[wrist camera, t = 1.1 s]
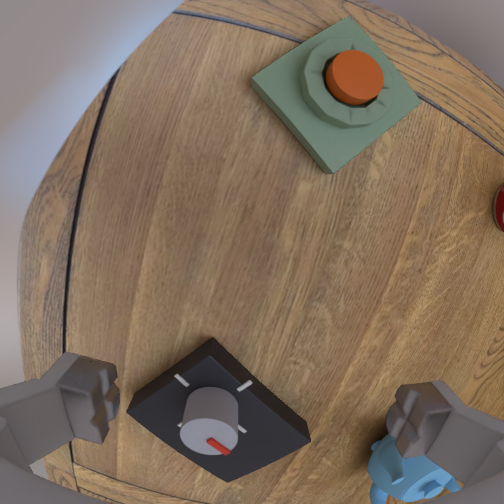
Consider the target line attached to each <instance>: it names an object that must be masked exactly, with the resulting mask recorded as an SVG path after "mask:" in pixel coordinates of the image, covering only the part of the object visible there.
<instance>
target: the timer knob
mask: <svg viewBox="0 0 504 504" xmlns="http://www.w3.org/2000/svg"><path fill="white" fill-rule="evenodd" d="M180 437H181V440H182V441H183V443H184V444H185V445H186V446H187V447H188V448H190V449H191V450H193V451H195V452H198V453H201V454H206V455H219V454H224V455H227V454H229V453H230V452H231V451H230V450H232V449H233V448H234V447H235V446H236V444H237V442H238V403H237V400H236V399H235V397H234V396H233V395H232V394H231V393H229V392H228V391H226V390H224V389H221V388H217V387H203V388H199V389H197V390H195V391H193V392H192V393H191V394H190V395H189V397H188V399H187V403H186V407H185V412H184V416H183V421H182V425H181V430H180Z"/></svg>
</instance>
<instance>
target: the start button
mask: <svg viewBox="0 0 504 504" xmlns="http://www.w3.org/2000/svg"><path fill="white" fill-rule="evenodd" d="M326 83H327V86H328V88H329V90H330V92H331V93H332V94H333V95H334V96H335V97H336V98H337V99H338V100H340V101H342V102H344V103H346V104H350V105H360V104H363V103H365V102H367V101H369V100H370V99H372V98H374V97H375V96H377V95H378V94H379V93H380V91H381V90H382V87H383V83H384V77H383V73H382V70H381V68H380V66H379V64H378V63H377V62H376V61H375V60H374V59H373V58H372V57H371V56H369V55H368V54H366V53H364V52H361V51H358V50H347V51H344V52H341V53H340V54H338V55H337V56H336V57H335V59H334V60H333V61H332V62H331V64H330V65H329V66H328V68H327V71H326Z"/></svg>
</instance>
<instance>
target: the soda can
mask: <svg viewBox="0 0 504 504" xmlns="http://www.w3.org/2000/svg"><path fill="white" fill-rule="evenodd" d="M493 215H494V219H495V222H496V224H497V226H498V227H499V228H500V229H501V230H502V231H503V232H504V185H503V186H501V187H500V188H499V189H498V191H497V192H496V194H495V197H494V202H493Z"/></svg>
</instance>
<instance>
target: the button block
mask: <svg viewBox="0 0 504 504" xmlns="http://www.w3.org/2000/svg"><path fill="white" fill-rule="evenodd" d="M347 50H358V51H361V52H364V53H366V54H368V55H369V56H371V57H372V58H373V59H374V60H375V61H376V62H377V63H378V64H379V66H380V68H381V70H382V73H383V77H384V83H383V87H382V90H381V91H380V93H379V94H378V95H377V96H375V97H374V98H372V99H370V100H369V101H367V102H365V103H363V104H360V105H350V104H346V103H344V102H342V101H340V100H338V99H337V98H336V97H335V96H334V95H333V94H332V93H331V92H330V90H329V88H328V86H327V83H326V71H327V68H328V66H329V65H330V64H331V62H332V61H333V60H334V59H335V57H336V56H337V55H338V54H340V53H341V52H344V51H347ZM251 87H252V88H253V89H254V90H255V91H256V92H257V93H258V95H259V96H260V97H261V98H262V99H263V100H264V101H265V102H266V103H267V104H268V106H269V107H270V108H271V109H272V110H273V111H274V112H275V113H276V115H277V116H278V117H279V118H280V119H281V120H282V121H283V123H284V124H285V125H286V126H287V127H288V128H289V130H290V131H291V132H292V133H293V134H294V136H295V137H296V138H297V139H298V140H299V142H300V143H301V144H302V145H303V146H304V148H305V149H306V150H307V151H308V153H309V154H310V155H311V156H312V158H313V159H314V160H315V161H316V163H317V164H318V165H319V166H320V168H321V169H322V170H323V171H324V173H325V174H334V173H335V172H337V171H338V170H339V169H340V168H342V167H343V166H344V165H345V164H347V163H348V162H349V161H350V160H351V159H353V158H354V157H355V156H356V155H358V154H359V153H360V152H361V151H362V150H364V149H365V148H366V147H367V146H369V145H370V144H371V143H372V142H374V141H375V140H376V139H377V138H379V137H380V136H381V135H382V134H383V133H385V132H386V131H387V130H388V129H390V128H391V127H392V126H393V125H395V124H396V123H397V122H398V121H400V120H401V119H402V118H403V117H405V116H406V115H407V114H408V113H409V112H411V111H412V110H413V109H414V108H416V107H417V106H418V105H419V104H421V101H420V100H419V98H418V97H417V95H416V94H415V93H414V91H413V90H412V88H411V87H410V86H409V84H408V83H407V82H406V80H405V79H404V78H403V76H402V75H401V74H400V73H399V71H398V70H397V69H396V67H395V66H394V65H393V64H392V63H391V61H390V60H389V59H388V58H387V56H386V55H385V54H384V53H383V52H382V51H381V49H380V48H379V47H378V46H377V45H376V44H375V42H374V41H373V40H372V39H371V38H370V37H369V36H368V35H367V34H366V33H365V31H364V30H363V29H362V28H361V27H360V26H359V25H358V24H357V23H356V22H355V21H354V20H353V19H352V18H351V17H350V16H348V17H346V18H344V19H342V20H341V21H339V22H337V23H335V24H333V25H332V26H330V27H328V28H326V29H325V30H323V31H321V32H320V33H318V34H316V35H315V36H313V37H311V38H310V39H308V40H306V41H305V42H303V43H302V44H300V45H298V46H297V47H295V48H294V49H292V50H291V51H289V52H288V53H286V54H285V55H283V56H281V57H280V58H279V59H277V60H276V61H274V62H273V63H271V64H270V65H268V66H267V67H265V68H264V69H263V70H261V71H260V72H258V73H257V74H255V75H254V76H253V77H252V78H251Z"/></svg>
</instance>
